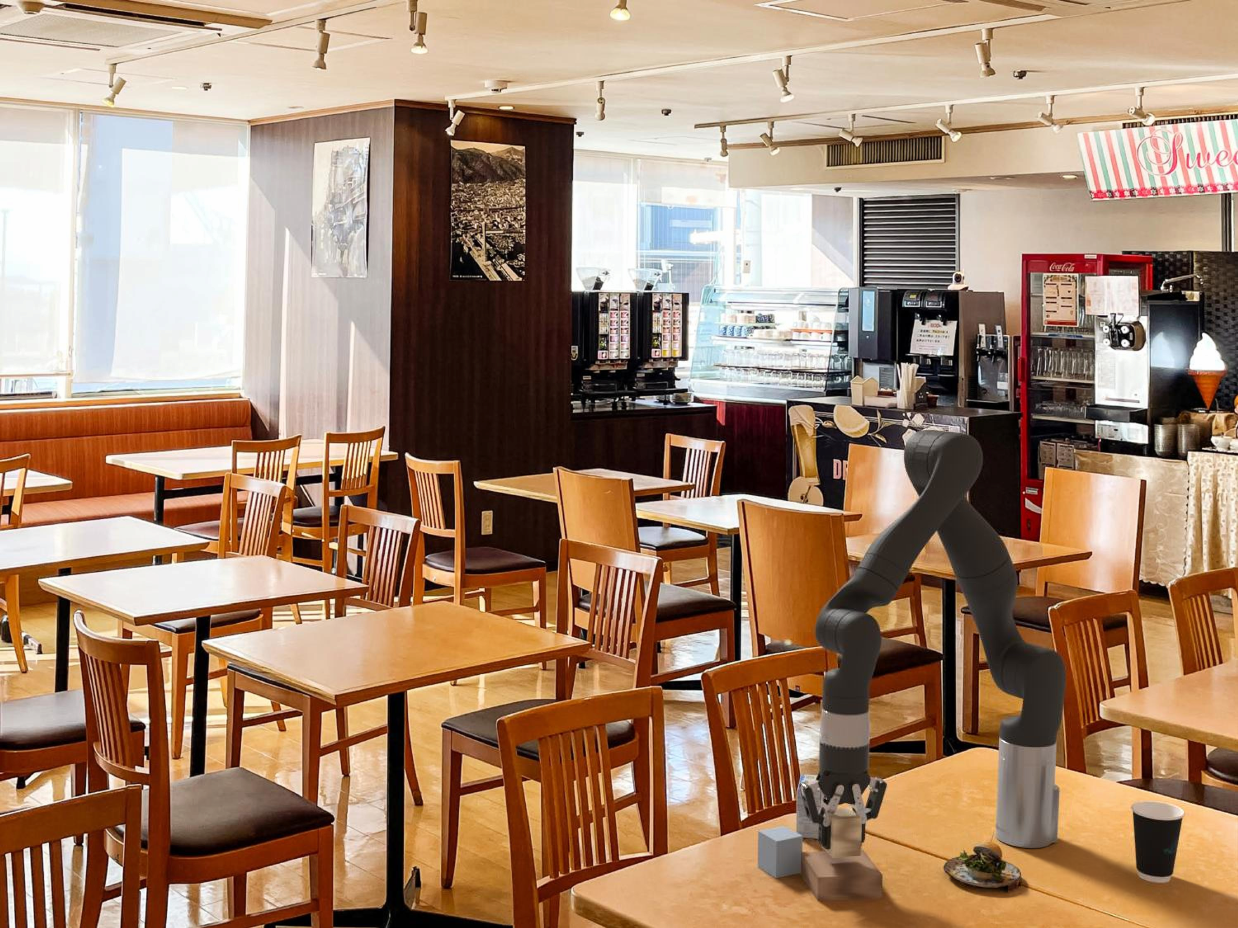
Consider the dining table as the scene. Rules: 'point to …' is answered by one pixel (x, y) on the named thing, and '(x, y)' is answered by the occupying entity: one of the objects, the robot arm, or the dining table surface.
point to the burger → (984, 868)
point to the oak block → (845, 833)
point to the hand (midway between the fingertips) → (841, 845)
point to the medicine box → (802, 821)
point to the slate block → (779, 851)
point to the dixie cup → (1156, 839)
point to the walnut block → (841, 876)
